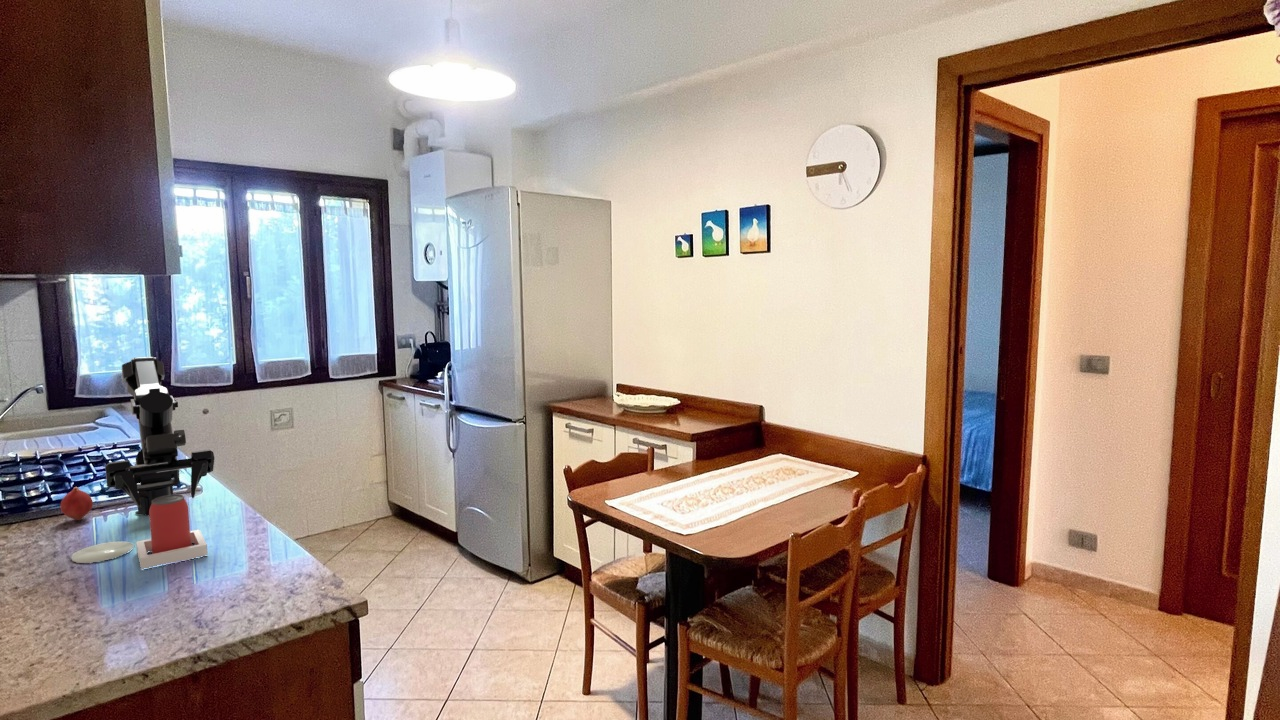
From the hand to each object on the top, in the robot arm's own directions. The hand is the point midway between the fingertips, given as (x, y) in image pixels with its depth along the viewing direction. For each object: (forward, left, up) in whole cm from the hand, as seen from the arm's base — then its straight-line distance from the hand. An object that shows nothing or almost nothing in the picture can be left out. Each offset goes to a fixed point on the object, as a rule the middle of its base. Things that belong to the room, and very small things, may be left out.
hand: (166, 501), depth 140 cm
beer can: (+2, +3, -11) cm, 11 cm away
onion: (-6, -37, -11) cm, 39 cm away
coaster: (+6, -11, -10) cm, 16 cm away
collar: (+2, +3, -10) cm, 11 cm away
